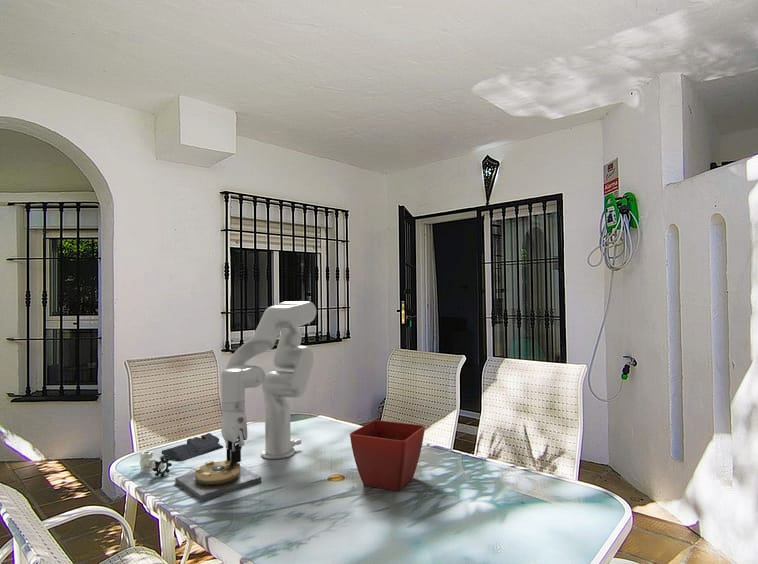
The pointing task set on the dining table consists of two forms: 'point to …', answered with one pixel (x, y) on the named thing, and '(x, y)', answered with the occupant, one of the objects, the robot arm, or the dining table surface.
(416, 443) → the plant pot
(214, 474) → the brass crank wheel
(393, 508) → the dining table surface
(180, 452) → the dark slate chunk
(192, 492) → the housing
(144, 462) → the valve
